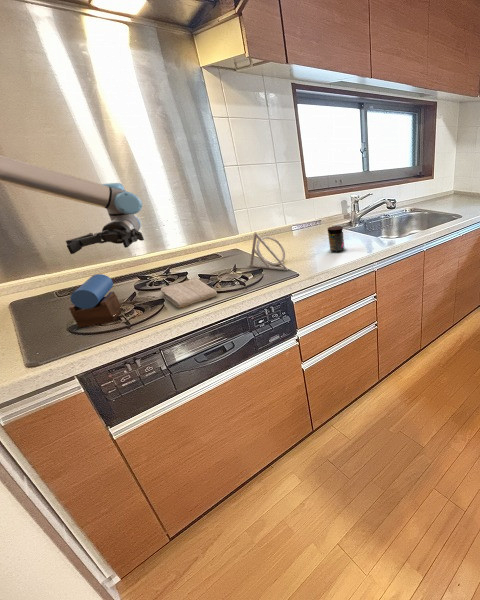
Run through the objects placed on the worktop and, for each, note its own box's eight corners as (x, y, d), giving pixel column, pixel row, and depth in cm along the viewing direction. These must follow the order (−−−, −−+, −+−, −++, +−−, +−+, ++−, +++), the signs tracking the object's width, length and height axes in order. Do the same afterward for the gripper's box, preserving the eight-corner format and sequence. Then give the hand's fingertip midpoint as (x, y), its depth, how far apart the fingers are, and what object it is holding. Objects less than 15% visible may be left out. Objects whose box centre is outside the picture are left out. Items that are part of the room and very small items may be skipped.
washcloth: (197, 283, 116) (195, 275, 115) (220, 296, 106) (217, 288, 104) (159, 294, 108) (156, 286, 107) (179, 310, 98) (176, 301, 96)
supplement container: (342, 253, 144) (340, 229, 140) (328, 252, 145) (325, 229, 141) (346, 248, 150) (344, 226, 146) (332, 248, 151) (330, 226, 147)
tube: (93, 292, 98) (85, 275, 96) (116, 289, 100) (108, 272, 98) (76, 310, 88) (66, 292, 85) (101, 306, 90) (92, 288, 87)
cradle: (89, 315, 96) (80, 296, 93) (122, 309, 99) (114, 291, 96) (78, 327, 89) (68, 307, 87) (114, 321, 92) (105, 301, 90)
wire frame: (283, 267, 144) (304, 254, 135) (265, 283, 134) (287, 270, 126) (253, 234, 137) (275, 218, 128) (233, 248, 127) (254, 232, 119)
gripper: (162, 236, 124) (149, 252, 107) (80, 246, 115) (52, 264, 98) (155, 217, 121) (141, 229, 104) (70, 225, 112) (39, 240, 95)
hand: (97, 246), depth 101 cm, fingers open, 13 cm apart
